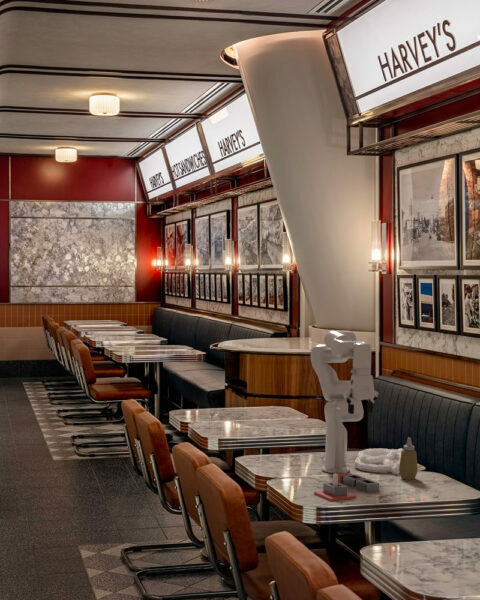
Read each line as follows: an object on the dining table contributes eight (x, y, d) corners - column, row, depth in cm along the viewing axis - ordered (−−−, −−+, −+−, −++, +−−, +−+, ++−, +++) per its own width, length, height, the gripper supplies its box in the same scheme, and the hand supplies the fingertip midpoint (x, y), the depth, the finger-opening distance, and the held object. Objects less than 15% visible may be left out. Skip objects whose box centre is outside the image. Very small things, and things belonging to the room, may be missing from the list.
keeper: (313, 494, 353) (314, 471, 353) (338, 491, 359) (339, 469, 359) (330, 501, 343) (331, 478, 342) (356, 498, 348) (356, 475, 348)
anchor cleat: (334, 480, 377) (335, 467, 376) (348, 479, 380) (348, 465, 380) (340, 483, 373) (340, 468, 373) (353, 481, 376) (354, 467, 376)
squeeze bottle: (416, 477, 388) (417, 436, 387) (418, 481, 380) (419, 439, 379) (397, 476, 389) (399, 435, 388) (399, 480, 381) (400, 438, 380)
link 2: (355, 488, 364) (355, 480, 364) (367, 487, 367) (367, 478, 367) (367, 493, 357) (367, 484, 357) (379, 491, 360) (379, 483, 360)
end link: (323, 491, 353) (323, 483, 353) (335, 490, 356) (335, 481, 356) (334, 496, 346) (334, 487, 346) (347, 495, 349) (347, 486, 349)
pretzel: (405, 479, 389) (405, 465, 389) (351, 476, 396) (351, 462, 395) (410, 458, 416) (410, 445, 415) (360, 456, 423) (360, 443, 422)
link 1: (343, 483, 372) (343, 475, 372) (354, 482, 375) (355, 474, 375) (354, 488, 365) (354, 479, 365) (366, 486, 368) (366, 478, 368)
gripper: (349, 374, 362) (348, 415, 362) (383, 372, 370) (382, 413, 371) (339, 371, 369) (338, 412, 369) (373, 370, 377) (371, 410, 377)
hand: (360, 413), depth 370 cm, fingers open, 9 cm apart
